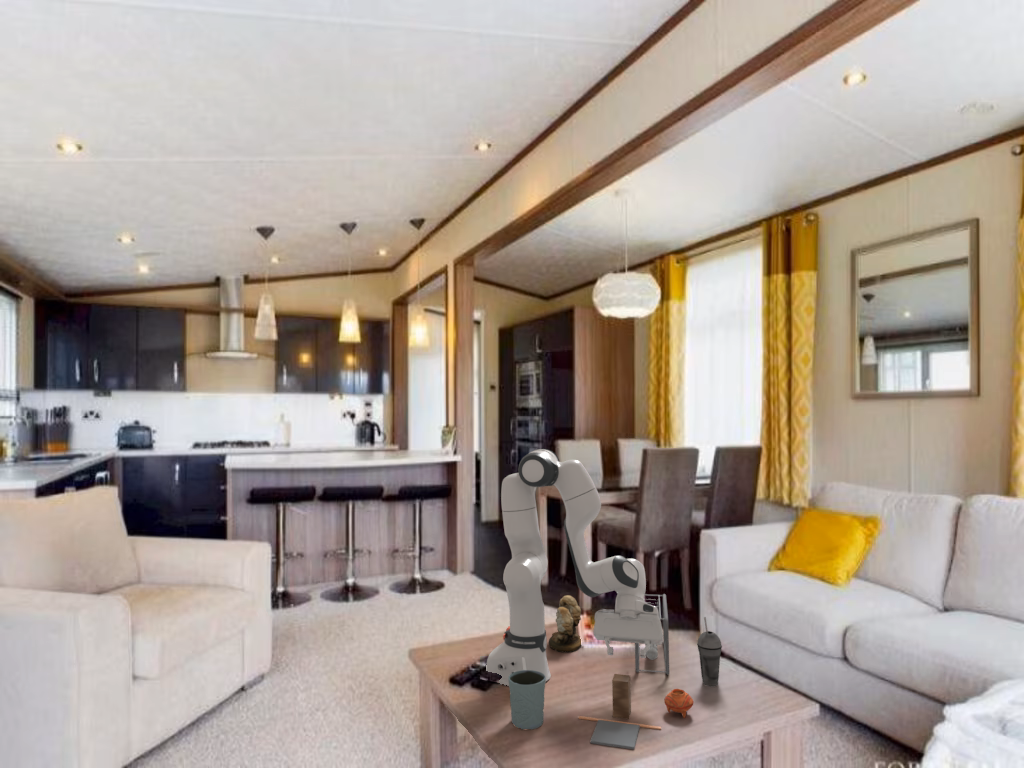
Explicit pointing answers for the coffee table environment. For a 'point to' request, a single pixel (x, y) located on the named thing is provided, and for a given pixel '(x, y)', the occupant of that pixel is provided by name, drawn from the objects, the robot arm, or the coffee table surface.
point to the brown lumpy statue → (566, 626)
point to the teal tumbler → (527, 698)
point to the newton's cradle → (653, 649)
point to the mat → (615, 734)
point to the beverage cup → (709, 656)
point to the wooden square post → (621, 696)
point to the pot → (678, 701)
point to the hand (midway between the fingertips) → (626, 655)
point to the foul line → (620, 722)
